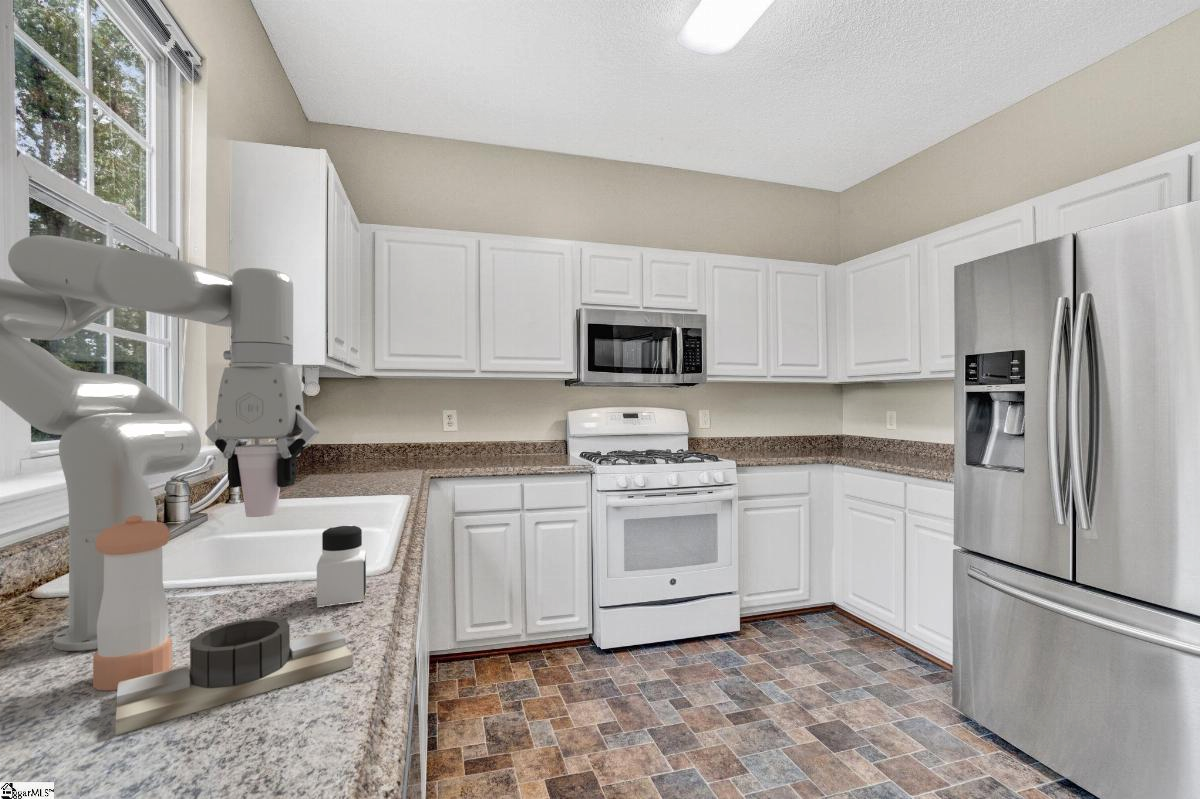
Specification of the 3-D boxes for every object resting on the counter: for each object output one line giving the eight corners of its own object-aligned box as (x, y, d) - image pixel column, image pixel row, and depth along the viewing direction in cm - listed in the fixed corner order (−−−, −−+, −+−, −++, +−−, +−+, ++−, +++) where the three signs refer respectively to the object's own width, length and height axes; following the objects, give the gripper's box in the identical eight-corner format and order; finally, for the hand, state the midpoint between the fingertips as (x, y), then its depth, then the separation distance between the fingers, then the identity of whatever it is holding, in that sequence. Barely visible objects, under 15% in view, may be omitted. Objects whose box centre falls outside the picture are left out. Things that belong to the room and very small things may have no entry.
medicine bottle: (365, 602, 91) (364, 529, 91) (316, 608, 89) (316, 533, 89) (366, 589, 98) (365, 521, 98) (321, 595, 95) (320, 525, 95)
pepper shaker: (163, 656, 72) (163, 508, 72) (179, 673, 67) (179, 514, 67) (87, 678, 66) (87, 517, 66) (99, 697, 61) (99, 524, 62)
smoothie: (240, 512, 80) (240, 415, 80) (291, 509, 82) (291, 414, 82) (228, 520, 74) (228, 415, 74) (283, 516, 76) (283, 414, 76)
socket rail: (115, 735, 54) (115, 678, 54) (118, 695, 62) (118, 646, 62) (352, 666, 68) (352, 621, 68) (331, 640, 76) (331, 600, 76)
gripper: (181, 356, 75) (180, 490, 74) (309, 355, 74) (309, 489, 74) (220, 361, 82) (219, 483, 82) (336, 360, 82) (336, 482, 82)
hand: (262, 485), depth 78 cm, fingers closed on smoothie, 6 cm apart
